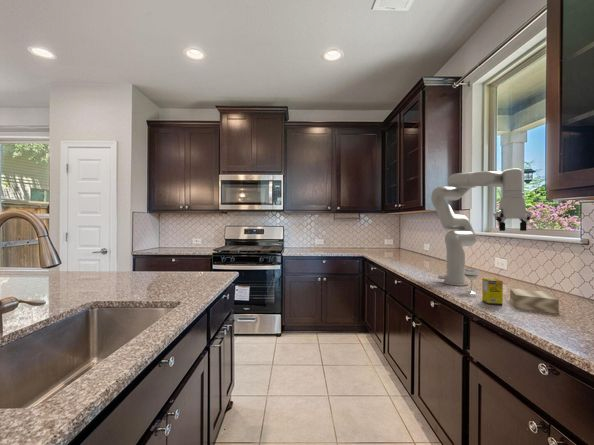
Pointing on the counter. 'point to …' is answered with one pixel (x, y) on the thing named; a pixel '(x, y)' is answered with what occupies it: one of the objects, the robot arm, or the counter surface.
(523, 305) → the riser block
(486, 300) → the supplement box
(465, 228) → the robot arm
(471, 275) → the wineglass
